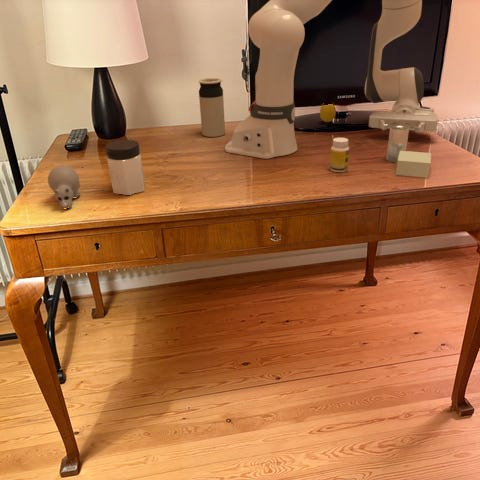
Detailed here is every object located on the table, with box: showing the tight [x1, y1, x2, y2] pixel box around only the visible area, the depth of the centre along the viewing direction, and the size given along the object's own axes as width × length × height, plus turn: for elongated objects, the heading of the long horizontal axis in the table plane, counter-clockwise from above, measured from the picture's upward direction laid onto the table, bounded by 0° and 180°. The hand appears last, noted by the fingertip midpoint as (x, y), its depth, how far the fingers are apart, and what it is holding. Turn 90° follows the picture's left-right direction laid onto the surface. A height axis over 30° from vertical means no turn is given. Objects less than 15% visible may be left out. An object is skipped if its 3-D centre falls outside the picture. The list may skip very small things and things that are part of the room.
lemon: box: [319, 103, 337, 123], centre depth 164 cm, size 6×6×8 cm
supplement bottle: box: [329, 137, 350, 173], centre depth 124 cm, size 5×5×8 cm
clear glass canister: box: [385, 122, 410, 163], centre depth 129 cm, size 5×5×10 cm
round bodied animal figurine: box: [47, 165, 81, 209], centre depth 112 cm, size 7×12×8 cm, turn 11°
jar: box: [105, 139, 146, 196], centre depth 117 cm, size 9×8×12 cm
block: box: [395, 150, 432, 179], centre depth 122 cm, size 8×8×4 cm
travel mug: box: [198, 77, 226, 138], centre depth 155 cm, size 8×8×18 cm
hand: (400, 128), depth 138 cm, fingers open, 8 cm apart
